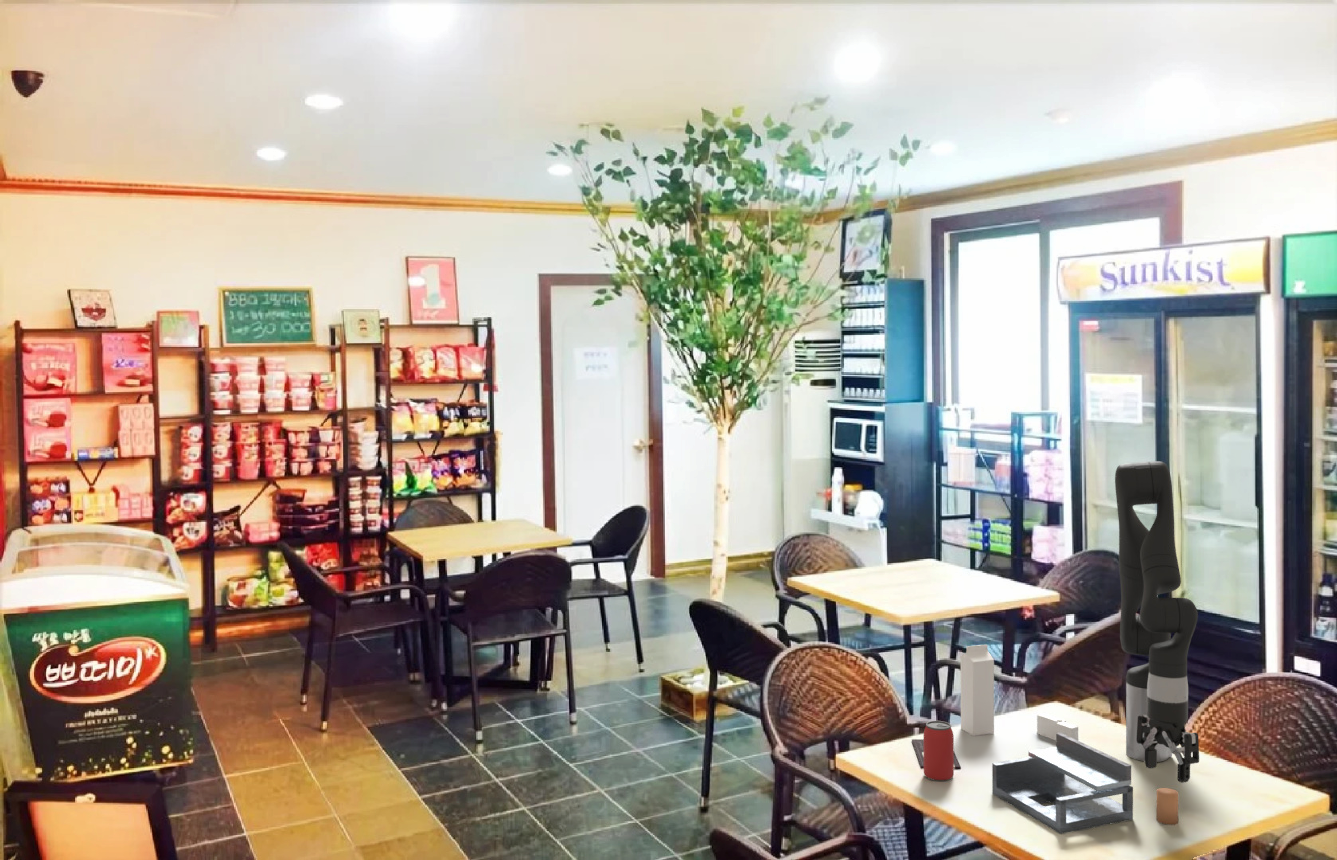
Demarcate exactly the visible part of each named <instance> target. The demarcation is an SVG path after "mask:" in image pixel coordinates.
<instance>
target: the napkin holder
mask: <svg viewBox="0 0 1337 860" xmlns="http://www.w3.org/2000/svg"><path fill="white" fill-rule="evenodd" d="M1036 717H1037V718H1036V720H1037V721H1036V730H1037V731H1036V733H1037V735H1039V734H1040V736H1043V737H1046V738H1048V739H1051V740H1054V742H1055V743H1056V733H1062V734H1064V735H1067V736H1069V737H1071V738H1073V739H1075V740H1077V741H1079V726H1077V725H1075V724H1072V723H1068V722H1067V720H1066V719H1062V718H1059V717H1057V716H1054V715H1050V714H1048V713H1046V712H1045V713H1044V712H1043V713H1038V714H1037V715H1036Z"/></svg>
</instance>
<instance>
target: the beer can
mask: <svg viewBox="0 0 1337 860" xmlns="http://www.w3.org/2000/svg"><path fill="white" fill-rule="evenodd" d="M923 739H924V768H923V774H924V776H925V777H926V778H927V779H929V780H932V781H936V782H937V781H938V782H942V781H943V782H944V781H948V780H951V779H952V778H953V777H954V771H955V769H954V753H955V751H954V750H955V749H954V744H955V743H954V732H953V729H952V725H951V724H950V723H949V722H947V721H941V720H930V721H927V722H926V724H925V727H924V731H923Z"/></svg>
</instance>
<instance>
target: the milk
mask: <svg viewBox="0 0 1337 860" xmlns="http://www.w3.org/2000/svg"><path fill="white" fill-rule="evenodd" d="M994 676H995V659H994V658H993V657H992V655H991V653H990V652H989V650H988V644H979V645H968V646H966V652H964V654H962V655H960V729H961V730H963V731H964V732H966V733H968V734H969V735H971V736H973V737H975V736H983V735H991V734H994V733H995V677H994Z"/></svg>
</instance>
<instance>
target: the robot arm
mask: <svg viewBox="0 0 1337 860" xmlns="http://www.w3.org/2000/svg"><path fill="white" fill-rule="evenodd" d="M1170 472H1171V471H1170V470H1169V467H1168V465H1167V464H1166V462H1164V461H1159V460H1157V461H1155V460H1154V461H1139V462H1126V463H1121V464H1118V466H1117V468H1116V470H1115V474H1114V475H1115V476H1114V483H1115V485H1114V486H1115V496H1116V498H1115V499H1116V506H1117V518H1118V530H1119V531H1118V533H1119V535H1118V536H1119V537H1118V545H1119V546H1118V550H1119V551H1118V566H1119V569H1118V570H1119V581H1120V595H1121V597H1120V598H1121V601H1120V602H1121V603H1120V619H1119V620H1120V622H1119V625H1120V626H1119V639H1120V644H1121V645H1120V646H1121V649H1122V651H1123V652H1125V653H1126V654H1129V655H1136V656H1146V657H1148V662H1147V663H1145V664H1141V665H1138V666H1134V667H1130V668H1129V669H1128V670H1127V671H1126V687H1125V688H1126V691H1125V692H1126V693H1125V694H1126V698H1125V699H1126V702H1125V703H1126V706H1125V707H1126V709H1125V710H1126V712H1125V717H1126V720H1125V722H1126V723H1125V726H1126V728H1125V736H1126V737H1125V754H1126V755H1127V756H1128V757H1130V758H1131V759H1135V760H1138V761H1142V762H1144V764H1145V767H1146V768H1147V769H1155V768H1156V767H1158V765H1157V764H1158V763H1160V762H1161V763H1162V762H1165V761H1167V760H1168V759H1169V758H1171V757H1172V756H1173V755H1174V756H1175V759H1176V761H1177V762H1178V763H1177V774H1176V776H1177V779H1176V780H1177V782H1179V783H1182V784H1183V783H1188V781H1189V780H1190V779H1191V765H1192V764H1193V765H1194V764H1198V763H1199V762H1200V743H1199V742H1200V741H1199V734H1198V733H1197V732H1195V731H1194V732H1189V731H1187V730H1186V726H1185V724H1186V723H1187V721H1188V720H1189V719H1188V717H1189V684H1188V683H1189V682H1188V653H1189V648H1190V644H1191V641H1192V638H1193V636H1194V633H1195V630H1196V626H1197V623H1198V618H1199V615H1198V613H1199V612H1198V610H1197V606H1196V604H1195V603H1194V602H1193V601H1192V600H1191V599H1190V598H1187V597H1159V595H1162V594H1167V593H1171V592H1174V591H1176V590H1178V589H1179V588H1180V587H1181V583H1182V578H1181V571H1180V566H1179V562H1178V561H1179V560H1178V556H1177V549H1176V541H1175V514H1174V513H1175V511H1174V496H1173V495H1174V494H1173V484H1172V477H1171V473H1170ZM1138 505H1139V506H1140V505H1157V514H1156V516H1155V518H1154V521H1153V524H1152V525H1151V527H1150V528H1149V529H1148V527H1146V526H1145V524H1144V523H1143V522H1142V521H1141V520H1140V518H1139V516H1138V515H1137V514H1136V512H1135V509H1134V506H1138ZM1139 609H1140V610H1139ZM1138 611H1139V615H1137V612H1138ZM1172 634H1174V635H1172ZM1171 636H1172V637H1171ZM1179 746H1180V747H1179Z"/></svg>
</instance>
